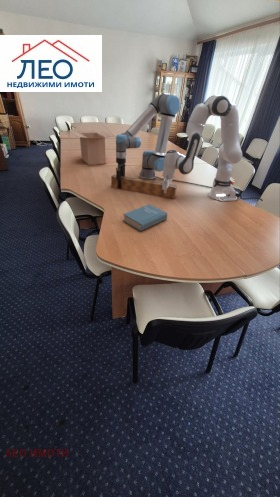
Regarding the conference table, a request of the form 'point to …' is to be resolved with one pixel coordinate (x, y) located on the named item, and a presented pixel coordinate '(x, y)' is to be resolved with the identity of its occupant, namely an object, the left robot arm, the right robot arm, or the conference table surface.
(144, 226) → the book
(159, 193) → the post
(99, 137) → the box
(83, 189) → the conference table surface
